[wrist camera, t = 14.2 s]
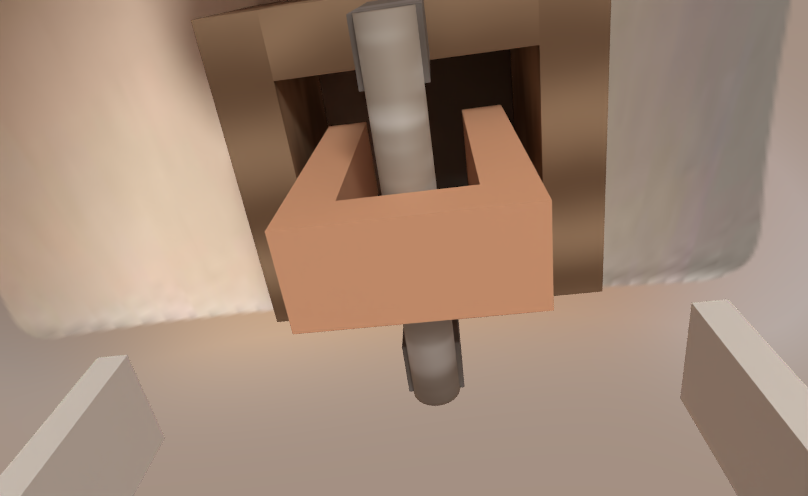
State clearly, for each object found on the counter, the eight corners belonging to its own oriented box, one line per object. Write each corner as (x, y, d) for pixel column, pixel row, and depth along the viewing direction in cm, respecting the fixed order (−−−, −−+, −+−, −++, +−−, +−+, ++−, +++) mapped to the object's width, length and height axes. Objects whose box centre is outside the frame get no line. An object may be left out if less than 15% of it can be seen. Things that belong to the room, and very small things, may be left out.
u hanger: (329, 126, 29) (264, 231, 18) (500, 104, 28) (551, 200, 17) (343, 196, 31) (292, 334, 19) (504, 178, 30) (553, 310, 18)
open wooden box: (254, 5, 33) (92, 42, 17) (559, -40, 31) (698, -47, 15) (310, 243, 40) (233, 426, 24) (561, 216, 39) (658, 394, 22)
